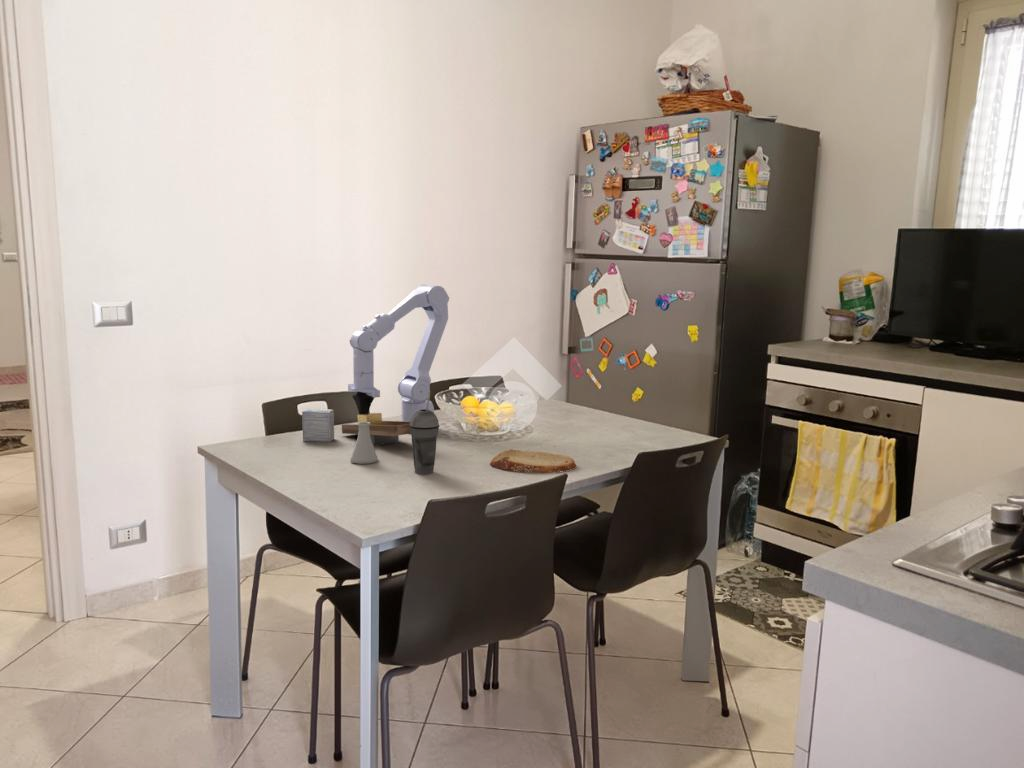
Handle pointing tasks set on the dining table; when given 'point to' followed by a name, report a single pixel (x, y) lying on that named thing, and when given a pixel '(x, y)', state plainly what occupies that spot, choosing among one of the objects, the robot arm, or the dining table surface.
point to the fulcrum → (383, 439)
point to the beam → (381, 428)
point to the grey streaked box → (318, 425)
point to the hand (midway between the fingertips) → (363, 418)
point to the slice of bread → (532, 462)
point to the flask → (363, 446)
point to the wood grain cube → (371, 418)
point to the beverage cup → (424, 439)
